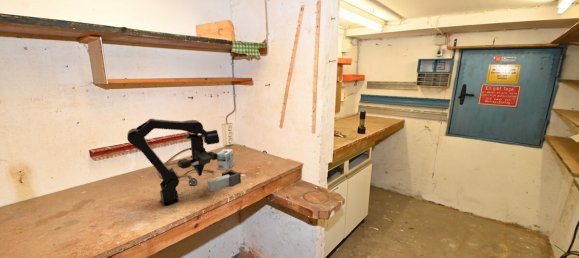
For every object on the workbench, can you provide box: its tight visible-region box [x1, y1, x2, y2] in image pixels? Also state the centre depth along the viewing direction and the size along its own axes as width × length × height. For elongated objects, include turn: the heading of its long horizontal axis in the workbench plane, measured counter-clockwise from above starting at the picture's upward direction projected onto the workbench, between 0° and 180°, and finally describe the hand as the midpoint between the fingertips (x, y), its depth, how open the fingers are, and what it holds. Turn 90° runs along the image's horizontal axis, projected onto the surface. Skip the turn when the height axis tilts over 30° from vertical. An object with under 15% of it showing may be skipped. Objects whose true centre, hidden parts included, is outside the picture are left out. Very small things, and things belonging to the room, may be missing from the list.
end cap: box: [221, 169, 242, 187], centre depth 143 cm, size 6×8×6 cm
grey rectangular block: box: [207, 175, 230, 192], centre depth 138 cm, size 12×4×5 cm, turn 130°
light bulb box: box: [216, 148, 235, 171], centre depth 165 cm, size 11×7×11 cm, turn 169°
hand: (199, 175), depth 128 cm, fingers closed
